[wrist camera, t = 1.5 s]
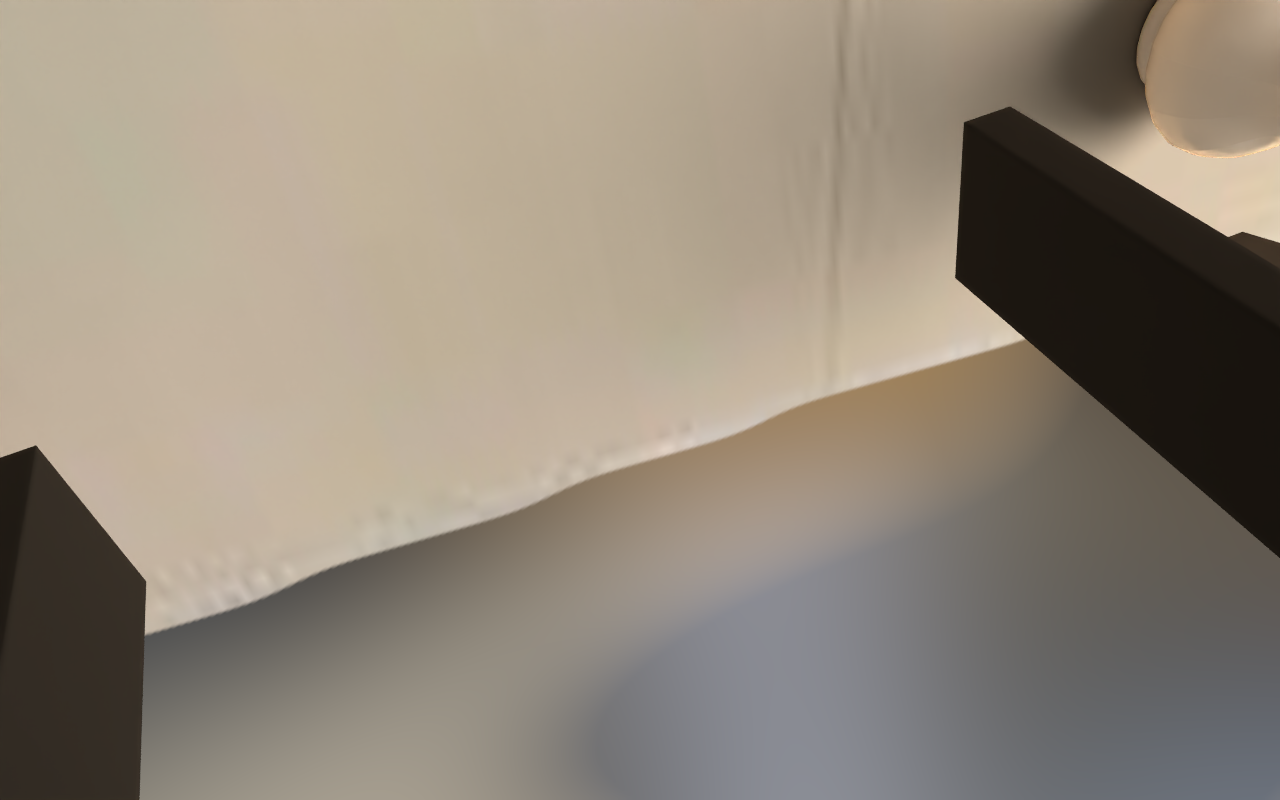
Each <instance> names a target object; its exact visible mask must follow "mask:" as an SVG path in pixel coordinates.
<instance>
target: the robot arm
mask: <svg viewBox="0 0 1280 800" xmlns="http://www.w3.org/2000/svg"><path fill="white" fill-rule="evenodd" d="M955 278H956V279H957V280H958V281H959V282H961V283H962V284H963V285H964V286H965V287H966V288H968V289H969V290H970V291H971V292H972V293H973V294H974V295H976V296H977V297H978V298H979V299H980V300H981V301H983V302H984V303H985V304H986V305H987V306H988V307H990V308H991V309H992V310H993V311H994V312H995V313H996V314H998V315H999V316H1000V317H1001V318H1002V319H1003V320H1005V321H1006V322H1007V323H1008V324H1009V325H1010V326H1012V327H1013V328H1014V329H1015V330H1016V331H1017V332H1018V333H1020V334H1021V335H1022V336H1023V337H1024V338H1025V339H1027V340H1028V341H1029V342H1030V343H1031V344H1032V345H1034V346H1035V347H1036V348H1037V349H1038V350H1039V351H1041V352H1042V353H1043V354H1044V355H1045V356H1046V357H1047V358H1049V359H1050V360H1051V361H1052V362H1053V363H1054V364H1056V365H1057V366H1058V367H1059V368H1060V369H1061V370H1063V371H1064V372H1065V373H1066V374H1067V375H1068V376H1069V377H1071V378H1072V379H1073V380H1074V381H1075V382H1076V383H1078V384H1079V385H1080V386H1081V387H1082V388H1083V389H1085V390H1086V391H1087V392H1088V393H1089V394H1090V395H1092V396H1093V397H1094V398H1095V399H1096V400H1097V401H1098V402H1100V403H1101V404H1102V405H1103V406H1104V407H1105V408H1107V409H1108V410H1109V411H1110V412H1111V413H1113V414H1114V415H1115V416H1116V417H1117V418H1118V419H1119V420H1120V421H1122V422H1123V423H1124V424H1125V425H1126V426H1128V427H1129V428H1130V429H1131V430H1132V431H1133V432H1135V433H1136V434H1137V435H1138V436H1139V437H1140V438H1141V439H1143V440H1144V441H1145V442H1146V443H1147V444H1148V445H1150V446H1151V447H1152V448H1153V449H1154V450H1155V451H1156V452H1158V453H1159V454H1160V455H1161V456H1162V457H1163V458H1165V459H1166V460H1167V461H1168V462H1169V463H1170V464H1172V465H1173V466H1174V467H1175V468H1176V469H1177V470H1178V471H1180V472H1181V473H1182V474H1183V475H1184V476H1185V477H1187V478H1188V479H1189V480H1190V481H1191V482H1192V483H1193V484H1195V485H1196V486H1197V487H1198V488H1199V489H1201V490H1202V491H1203V492H1204V493H1205V494H1206V495H1208V496H1209V497H1210V498H1211V499H1212V500H1213V501H1214V502H1216V503H1217V504H1218V505H1219V506H1220V507H1221V508H1222V509H1224V510H1225V511H1226V512H1227V513H1228V514H1229V515H1231V516H1232V517H1233V518H1234V519H1235V520H1236V521H1238V522H1239V523H1240V524H1241V525H1242V526H1244V528H1246V529H1247V530H1248V531H1249V532H1250V533H1251V534H1253V535H1254V536H1255V537H1256V538H1257V539H1258V540H1260V541H1261V542H1262V543H1263V544H1264V545H1265V546H1266V547H1268V548H1269V549H1270V550H1271V551H1272V552H1273V553H1275V554H1276V555H1277V556H1278V557H1279V558H1280V243H1278V242H1275V241H1271V240H1268V239H1265V238H1261V237H1258V236H1255V235H1251V234H1248V233H1245V232H1241V233H1238V234H1235V235H1233V236H1230V237H1227V236H1225V235H1224V234H1222V233H1220V232H1219V231H1217V230H1215V229H1214V228H1212V227H1210V226H1209V225H1207V224H1205V223H1204V222H1202V221H1200V220H1199V219H1197V218H1195V217H1194V216H1192V215H1190V214H1189V213H1187V212H1185V211H1184V210H1182V209H1180V208H1179V207H1177V206H1175V205H1174V204H1172V203H1170V202H1169V201H1167V200H1165V199H1164V198H1162V197H1160V196H1159V195H1157V194H1155V193H1154V192H1152V191H1150V190H1149V189H1147V188H1145V187H1144V186H1142V185H1140V184H1139V183H1137V182H1135V181H1134V180H1132V179H1130V178H1129V177H1127V176H1125V175H1124V174H1122V173H1120V172H1119V171H1117V170H1115V169H1114V168H1112V167H1110V166H1109V165H1107V164H1105V163H1104V162H1102V161H1100V160H1099V159H1097V158H1095V157H1094V156H1092V155H1090V154H1089V153H1087V152H1085V151H1084V150H1082V149H1080V148H1079V147H1077V146H1075V145H1074V144H1072V143H1070V142H1069V141H1067V140H1065V139H1064V138H1062V137H1060V136H1059V135H1057V134H1055V133H1054V132H1052V131H1050V130H1049V129H1047V128H1045V127H1044V126H1042V125H1040V124H1039V123H1037V122H1035V121H1034V120H1032V119H1030V118H1029V117H1027V116H1025V115H1024V114H1022V113H1020V112H1019V111H1017V110H1015V109H1014V108H1012V107H1007V108H1004V109H1001V110H998V111H995V112H992V113H990V114H987V115H984V116H981V117H978V118H975V119H972V120H970V121H967V122H964V131H963V149H962V167H961V185H960V202H959V220H958V238H957V256H956V274H955ZM145 601H146V581H145V579H144V578H143V577H142V576H141V575H140V573H139V572H138V571H137V570H136V568H135V567H134V566H133V565H132V563H131V562H130V561H129V560H128V558H127V557H126V556H125V555H124V554H123V552H122V551H121V550H120V549H119V547H118V546H117V545H116V544H115V542H114V541H113V540H112V539H111V537H110V536H109V535H108V534H107V532H106V531H105V530H104V529H103V528H102V526H101V525H100V524H99V523H98V521H97V520H96V519H95V518H94V516H93V515H92V514H91V513H90V511H89V510H88V509H87V508H86V507H85V505H84V504H83V503H82V502H81V500H80V499H79V498H78V497H77V495H76V494H75V493H74V492H73V490H72V489H71V488H70V487H69V486H68V484H67V483H66V482H65V481H64V479H63V478H62V477H61V476H60V474H59V473H58V472H57V471H56V469H55V468H54V467H53V466H52V465H51V463H50V462H49V461H48V460H47V458H46V457H45V456H44V455H43V453H42V452H41V451H40V450H39V448H38V447H37V446H33V447H30V448H27V449H24V450H21V451H19V452H16V453H13V454H10V455H7V456H4V457H1V458H0V800H139V795H140V762H141V761H140V760H141V731H142V697H143V665H144V634H145Z"/></svg>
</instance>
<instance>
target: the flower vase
mask: <svg viewBox="0 0 1280 800" xmlns="http://www.w3.org/2000/svg"><path fill="white" fill-rule="evenodd" d="M1137 68H1138V72H1139V76H1140V78H1141V80H1142V81H1143V83H1144V84H1145V96H1146V100H1147V104H1148V108H1149V111H1150V115H1151V119H1152V121H1153V124H1154V125H1155V127H1156V128H1157V129H1158V131H1159V132H1160V133H1161V135H1162V136H1163V137H1164V138H1165V140H1166V141H1167V142H1168V143H1169V144H1171V145H1172V146H1175V147H1177V148H1179V149H1181V150H1183V151H1185V152H1187V153H1190V154H1193V155H1197V156H1202V157H1211V158H1236V157H1242V156H1247V155H1251V154H1254V153H1258V152H1261V151H1265V150H1268V149H1272V148H1274V147H1277V146H1279V145H1280V0H1157V2H1156V3H1155V5H1154V6H1153V8H1152V9H1151V11H1150V13H1149V15H1148V17H1147V19H1146V22H1145V24H1144V26H1143V28H1142V31H1141V35H1140V39H1139V43H1138V46H1137Z"/></svg>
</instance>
